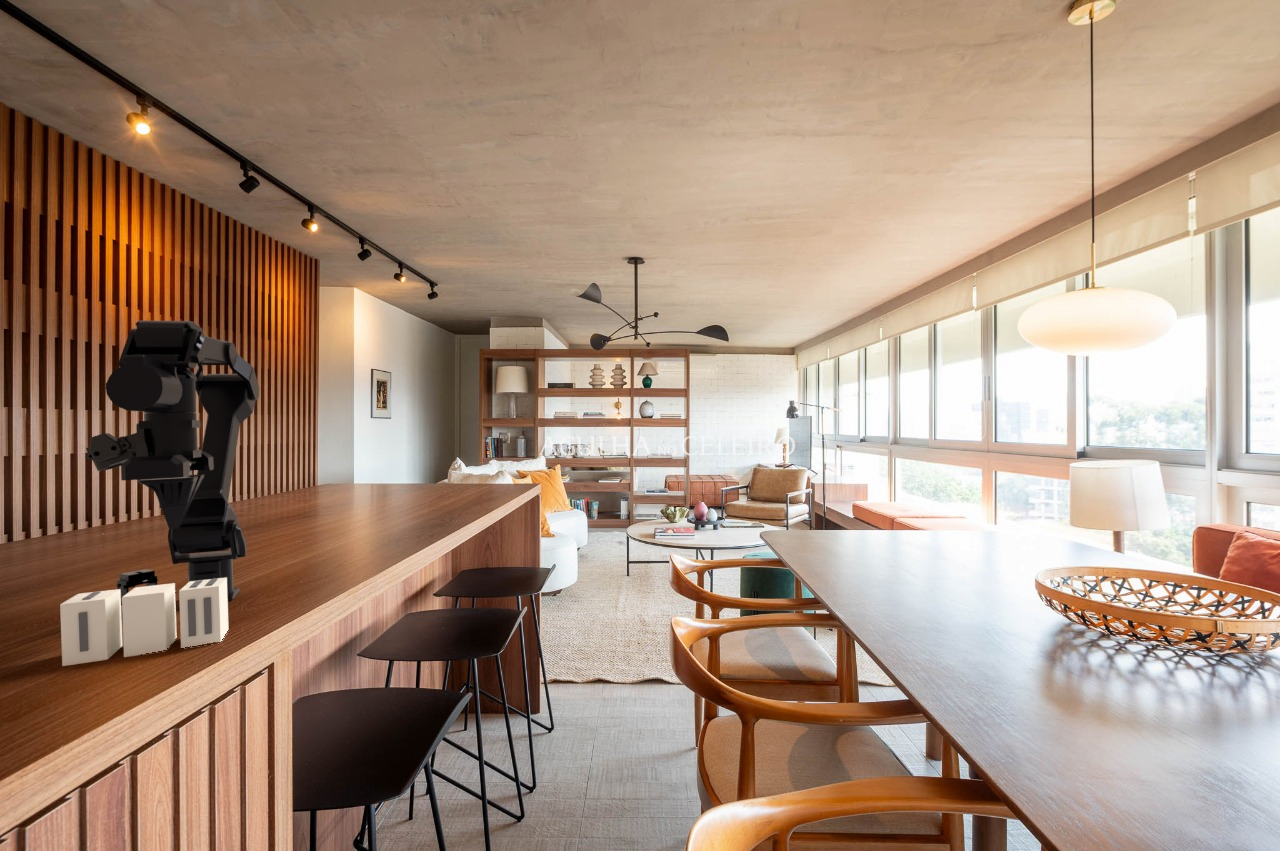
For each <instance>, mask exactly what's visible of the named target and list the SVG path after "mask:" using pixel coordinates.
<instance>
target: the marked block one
mask: <svg viewBox="0 0 1280 851" xmlns="http://www.w3.org/2000/svg"><path fill="white" fill-rule="evenodd" d="M59 606H60V607H59V608H60V610H59V611H60V634H61V635H60V636H61V666H62V667H65V666H73V665H78V664H87V663H91V662H93V663H94V662H99V661H106V660H109V659H110V658H111V657H112V656H113V655H114V654H115V653H116V652H118V650H120V649H121V648H122V647H123V618H122V605H121V590H120V589H118V588H116V589H108V590H99V591H90V592H82V593H77V594H75V595H73V596H71V597H70V598H68V599H67V600H65V601H64V602H62V603H61V604H60V605H59Z"/></svg>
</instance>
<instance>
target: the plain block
mask: <svg viewBox="0 0 1280 851" xmlns="http://www.w3.org/2000/svg"><path fill="white" fill-rule="evenodd" d="M175 591H176V583H175V582H173V583H163V584H157V585H153V586H146V585H145V586H137V587H136V586H135V587H133V588H132V589H131V590H129V592H128V593H127V594H126V595H124V596H123V597H122V605H121V615H122V645H123V658H127V657H135V656H140V655H141V654H142V655H147V654H146V653H149V654H153V653H152V652H156V653H159V652H158V651H162V652H164V651H163V650H167V651H168V649H169V648H170V647H171V646H172V645H173V643H174V642H175V641H176V640H177V639H176V638H178V636H177V635H178V634H177V610H176V609H177V607H176V593H175ZM175 639H176V640H175ZM171 644H172V645H171ZM170 645H171V646H170ZM167 648H168V649H167Z"/></svg>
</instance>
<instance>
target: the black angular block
mask: <svg viewBox="0 0 1280 851" xmlns="http://www.w3.org/2000/svg"><path fill="white" fill-rule="evenodd" d="M118 576H119V579H117V580H116V581H117V584H116V588H117V589H120V590H121V604H122V597H123V596H124V595H126V594H127V593H128V592H130V590H129V589H131V588H132V589H133V588H135V587H136V586H140V585H144V584H146V585H145V586H153V585H158V582H159V579H158V575H156V571H155V570H154V569H148V568H145V569H144V568H143V569H139V570H133V571H128V572H122V573H119V575H118ZM176 591H177V590H175V592H176ZM176 593H177V592H176Z"/></svg>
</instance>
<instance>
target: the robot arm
mask: <svg viewBox="0 0 1280 851" xmlns="http://www.w3.org/2000/svg"><path fill="white" fill-rule="evenodd" d="M135 327H136V328H131V329H130V330H129V333H128V335H127V339H126V341H125V344H124V347H123V349H122V352H121V354H120V358H119V359H118V368H116V369H114V370H113V371H112V372H111V374H110V375H109V377H108V379H107V381H106V382H105V393H106V395H107V397H108V399H109V400H110V401H111V402H112V403H113V404H114V405H115V406H117V407H119V408H120V409H123V410H125V411H130V412H143V420H138V423H136V425H135V426H136V431H135V433H132V434H128V435H125V436H124V435H122V436H119V437H118V438H116V437H115V436H114V435H112V434H111V433H108V432H105V433H101V434H97V435H95V436H94V435H93V436H91V437H90V443H89V447H85V450H86V452H87V454H86V456H85V458H86V459H87V460H88V461H92V462H93V465H94V467H95V469H96V470H97V471H98V472H101V471H103V470H105V471H109V470H113V469H115V468H118V467H120V473H121V474H120V475H121V476H120V477H121V481H137V482H138V483H139V484H141V485H144V486H145V487H147V488H149V489H150V490H152V491H153V492H154V494H155V495H156V498H157V500H158V503H159V506H160V507H161V511H162V513H163V516H164V520H165V522H166V525H167V527H168V531H167V542H168V547H169V553H170V555H171V556H170V557H171V562H172V565H178V564H186V563H187V578H188V580H187V581H188V582H187V583H189V582H190V581H199V580H208V579H217V578H227V597H228V601H232V600H234V598H236V596H237V594H238V593H239V592H240V587H234V571H233V570H234V569H233V568H234V567H233V564H234V563H233V560H237V559H239V558H244V557H247V540H246V538H245V535H244V533H243V530H242V528H241V525H240V523H239V521H238V516H237V514H236V512H235V511H234V509H233V507H232V506H231V504H230V502H229V497H230V490H231V484H232V478H233V471H234V465H235V458H236V453H237V445H238V440H239V439H238V438H239V435H240V434H239V432H240V427H241V424H243V422H244V421H245V420H247V419H248V417H250V416H251V415H252V414H253V412H254V408H255V405H256V401H258V400H259V399H260V398H259V397H260V386H259V381H258V379H257V375H256V372H255V368H254V367H253V365H252V364H250V363H249V362H248V361H246V360H245V359H244V358H242V357H241V356H240V355H239V354H238V350H237V349H236V346H235V344H234V342H233V341H232V342H230V341H229V340H222V339H221V340H220V339H218V338H214V337H210V336H207V335H205V334H204V329H203V328H202V327H200V325H198V324H197V323H195V322H194V321H191V320H147V319H146V320H141V319H140V320H138V321H137V322H135ZM204 366H228V367H229V369H230V370H231V371H233V373H207V374H206V375H205V374H204V372H203V369H204ZM191 369H196V371H195V373H194V372H193V371H192V370H191ZM197 396H198V401H199V402H200V404H201V405H202V408H203V409H204V410H205V412H206V414H207V418H206V424H205V428H204V435H203V440H202V445H201V449H199V447H198V445H199V444H198V429H200V428H201V427H202V426H201V420H199V419H198V418H197V416H198V415H197V414H198V413H197ZM193 471H197V472H196V474H193ZM229 549H230V550H229Z"/></svg>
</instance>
